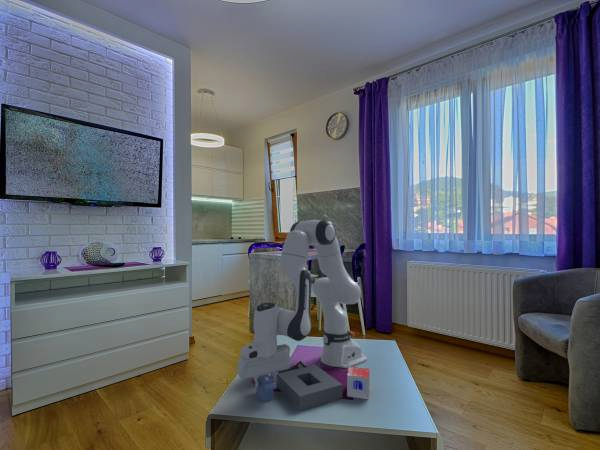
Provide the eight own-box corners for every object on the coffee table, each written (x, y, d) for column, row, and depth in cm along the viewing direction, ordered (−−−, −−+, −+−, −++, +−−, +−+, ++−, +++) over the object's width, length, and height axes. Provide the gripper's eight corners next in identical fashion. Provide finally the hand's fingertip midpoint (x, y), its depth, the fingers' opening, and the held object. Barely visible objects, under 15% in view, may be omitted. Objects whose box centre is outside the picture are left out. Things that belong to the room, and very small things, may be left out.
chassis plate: (315, 376, 132) (315, 364, 132) (342, 398, 116) (342, 384, 116) (276, 386, 124) (276, 373, 124) (299, 411, 107) (299, 396, 107)
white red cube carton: (369, 389, 123) (369, 368, 123) (368, 399, 115) (368, 377, 115) (348, 386, 125) (349, 366, 125) (346, 396, 117) (347, 375, 117)
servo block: (263, 387, 123) (263, 367, 123) (276, 403, 112) (276, 382, 112) (253, 389, 121) (253, 369, 121) (266, 406, 110) (266, 384, 110)
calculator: (276, 371, 138) (276, 364, 138) (301, 367, 142) (301, 360, 142) (283, 380, 129) (283, 373, 129) (309, 376, 133) (309, 369, 133)
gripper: (286, 340, 124) (286, 375, 124) (236, 349, 115) (235, 387, 114) (293, 345, 119) (293, 382, 119) (241, 355, 109) (241, 395, 109)
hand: (264, 385), depth 116 cm, fingers closed on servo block, 4 cm apart
